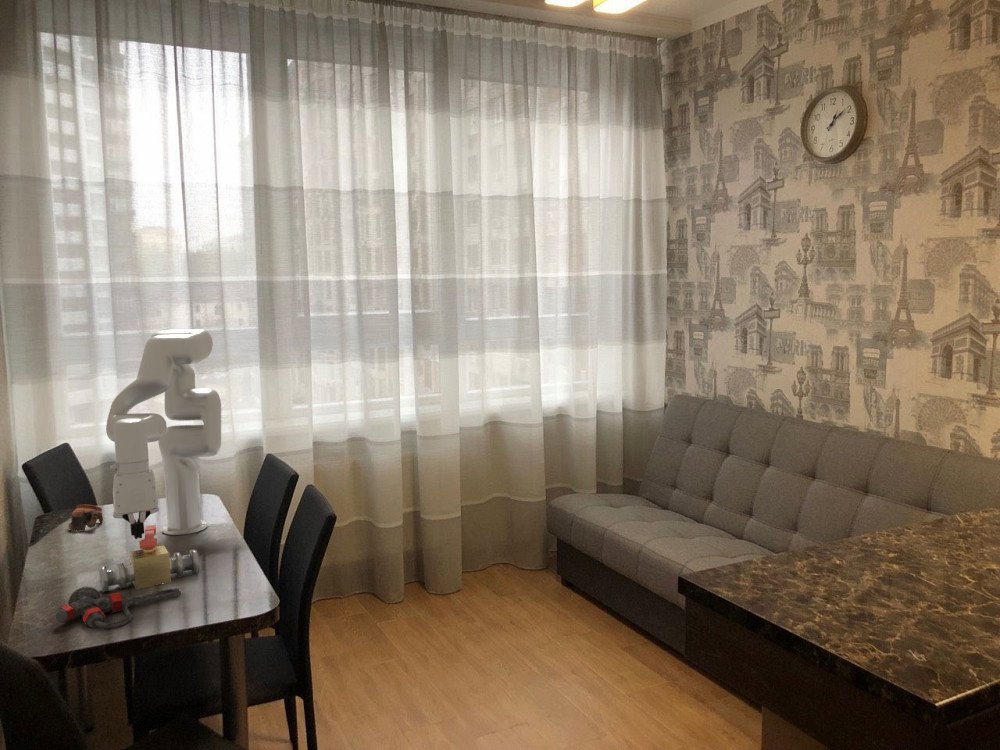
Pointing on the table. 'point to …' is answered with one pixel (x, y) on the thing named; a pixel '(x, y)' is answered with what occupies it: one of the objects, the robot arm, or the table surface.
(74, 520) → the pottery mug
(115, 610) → the valve
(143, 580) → the ball valve
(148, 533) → the lever
